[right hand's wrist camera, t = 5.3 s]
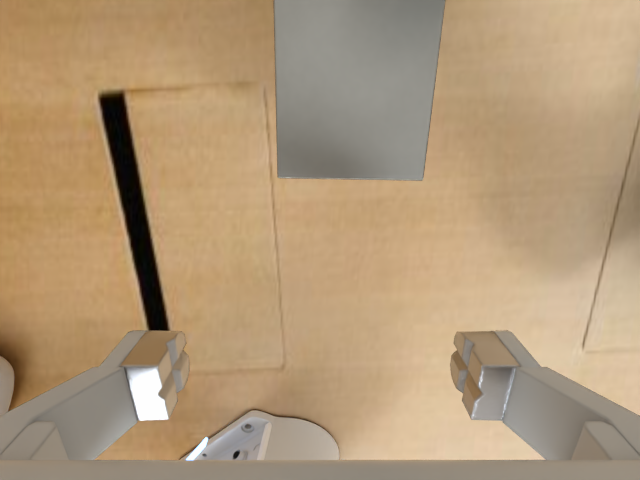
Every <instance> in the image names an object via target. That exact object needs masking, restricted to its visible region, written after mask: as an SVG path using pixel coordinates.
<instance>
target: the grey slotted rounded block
mask: <svg viewBox="0 0 640 480" xmlns="http://www.w3.org/2000/svg"><path fill="white" fill-rule="evenodd" d="M14 379H15V377H14V371H13V368H12V366H11V365H10V363H9V362H8V361H7V360H6V359H4V358H3V357H1V356H0V416H1V415H3V414H5V413H7V412H8V409H9V406H10V403H11V399H12V395H13V389H14Z"/></svg>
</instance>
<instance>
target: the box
mask: <svg viewBox="0 0 640 480" xmlns="http://www.w3.org/2000/svg"><path fill="white" fill-rule="evenodd" d="M444 8H445V0H274V42H275V86H276V130H277V174H278V178H296V179H354V180H411V181H422V180H423V176H424V168H425V160H426V152H427V144H428V136H429V128H430V120H431V112H432V104H433V96H434V88H435V80H436V72H437V64H438V56H439V48H440V40H441V32H442V24H443V16H444Z"/></svg>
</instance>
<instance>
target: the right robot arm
mask: <svg viewBox="0 0 640 480" xmlns="http://www.w3.org/2000/svg"><path fill="white" fill-rule="evenodd" d="M185 345H186V339H185V334H184V333H183V332H182V331H130V332H128V333H127V334H126V335H125V337H124V338H123V339H122V340H121V341H120V342H119V344H118V345H117V346H116V347H115V348H114V350H113V351H112V352H111V353H110V354H109V355H108V357H107V358H106V359H105V360H104V361H103V363H102V364H101V365H100V366H99V367H92V368H91V369H89V370H87V371H85V372H83V373H81V374H79V375H77V376H75V377H73V378H71V379H70V380H68V381H66V382H64V383H62V384H60V385H58V386H56V387H54V388H52V389H50V390H49V391H47V392H45V393H43V394H41V395H39V396H37V397H35V398H33V399H31V400H29V401H28V402H26V403H24V404H22V405H20V406H18V407H16V408H14V409H12V410H10V411H8V412H7V413H5V414H3V415H1V416H0V480H640V416H639V415H637V414H635V413H633V412H631V411H629V410H627V409H626V408H624V407H622V406H620V405H618V404H616V403H614V402H612V401H610V400H608V399H607V398H605V397H603V396H601V395H599V394H597V393H595V392H593V391H591V390H589V389H588V388H586V387H584V386H582V385H580V384H578V383H576V382H574V381H572V380H570V379H568V378H567V377H565V376H563V375H561V374H559V373H557V372H555V371H553V370H551V369H549V368H548V367H541V366H540V365H539V364H538V363H537V361H536V360H535V359H534V358H533V357H532V355H531V354H530V353H529V352H528V351H527V350H526V348H525V347H524V346H523V345H522V344H521V343H520V341H519V340H518V339H517V338H516V337H515V335H514V334H513V333H512V332H510V331H508V330H504V331H478V332H457V333H456V335H455V338H454V345H455V347H456V349H457V351H456V352H455V353H454V354H453V355H452V356H451V363H450V367H451V376H452V379H453V382H454V385H455V387H456V388H457V389H458V390H459V391H461V392H462V393H463V398H462V401H463V403H464V406H465V408H466V410H467V412H468V414H469V416H470V418H471V420H499V421H503V423H504V424H505V425H507V426H508V427H509V428H510V429H511V430H512V431H513V432H515V433H516V434H517V435H518V436H519V437H520V438H522V439H523V440H524V441H525V442H526V443H527V444H528V445H530V446H531V447H532V448H533V449H534V450H535V451H537V452H538V453H539V454H540V455H541V456H542V457H544V458H545V459H546V460H339V458H340V454H339V449H338V446H337V443H336V442H335V440H334V439H333V437H332V436H331V435H330V434H329V433H328V432H327V431H326V430H324V429H323V428H321V427H320V426H318V425H316V424H314V423H311V422H309V421H305V420H301V419H296V418H285V417H276V416H273V415H270V414H268V413H265V412H262V411H257V410H253V411H250V412H248V413H246V414H245V415H244V416H242V417H241V418H239V419H238V420H236V421H235V422H233V423H232V424H230V425H229V426H228V427H226V428H225V429H223V430H222V431H220V432H219V433H217V434H216V435H214V436H213V437H212V438H210V439H209V440H208V438H205V439H204V440H203V441H202V442H201V443H200V445H199V446H198V447H197V448H196V449H194V450H193V451H191V452H190V453H188V454H187V455H185V456H184V457H183V458H181V459H180V460H94V459H95V458H97V457H98V456H99V455H100V454H101V453H102V452H104V451H105V450H106V449H107V448H108V447H109V446H110V445H112V444H113V443H114V442H115V441H116V440H117V439H119V438H120V437H121V436H122V435H123V434H124V433H126V432H127V431H128V430H129V429H130V428H131V427H133V426H134V425H135V424H136V423H137V421H141V420H169V418H170V416H171V414H172V412H173V410H174V408H175V406H176V403H177V401H178V398H177V393H178V392H179V391H181V390H182V389H183V388H184V387H185V384H186V382H187V380H188V375H189V367H190V362H189V356H188V355H187V354H186V353H185V352H184V351H183V349H184V347H185Z"/></svg>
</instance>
